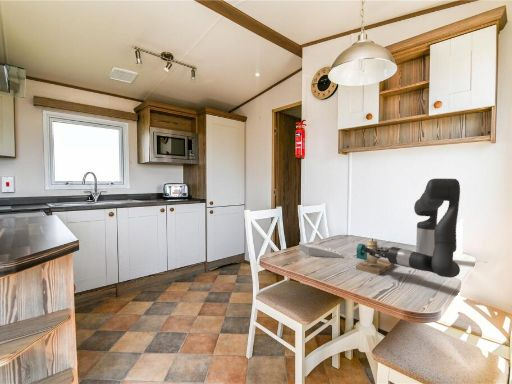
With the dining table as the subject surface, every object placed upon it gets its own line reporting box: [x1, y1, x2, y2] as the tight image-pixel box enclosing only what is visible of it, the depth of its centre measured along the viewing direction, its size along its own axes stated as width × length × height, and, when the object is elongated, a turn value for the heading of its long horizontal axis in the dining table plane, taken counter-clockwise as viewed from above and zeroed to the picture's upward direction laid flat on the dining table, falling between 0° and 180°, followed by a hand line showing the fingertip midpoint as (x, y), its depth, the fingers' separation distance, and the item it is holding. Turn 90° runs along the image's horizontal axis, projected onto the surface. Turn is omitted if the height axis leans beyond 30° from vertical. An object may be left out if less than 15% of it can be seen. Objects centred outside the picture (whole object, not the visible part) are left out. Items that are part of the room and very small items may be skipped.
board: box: [355, 257, 396, 276], centre depth 128 cm, size 20×11×2 cm, turn 133°
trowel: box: [298, 241, 344, 259], centre depth 152 cm, size 28×16×5 cm, turn 55°
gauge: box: [366, 238, 378, 264], centre depth 124 cm, size 5×5×12 cm
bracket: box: [356, 243, 367, 261], centre depth 147 cm, size 18×7×8 cm, turn 131°
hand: (367, 248), depth 126 cm, fingers closed on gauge, 4 cm apart
